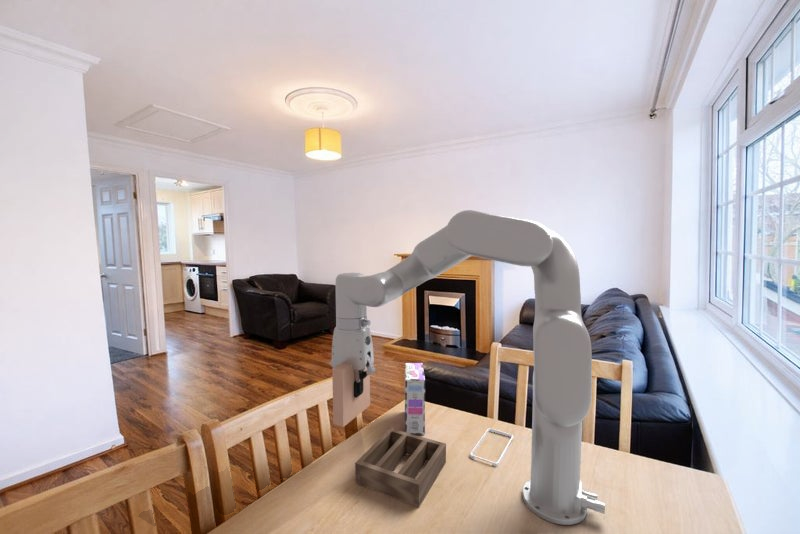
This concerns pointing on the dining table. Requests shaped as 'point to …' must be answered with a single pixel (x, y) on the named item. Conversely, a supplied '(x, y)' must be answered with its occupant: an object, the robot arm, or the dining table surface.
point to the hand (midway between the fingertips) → (352, 393)
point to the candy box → (414, 399)
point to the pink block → (348, 394)
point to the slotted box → (403, 486)
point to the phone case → (481, 441)
